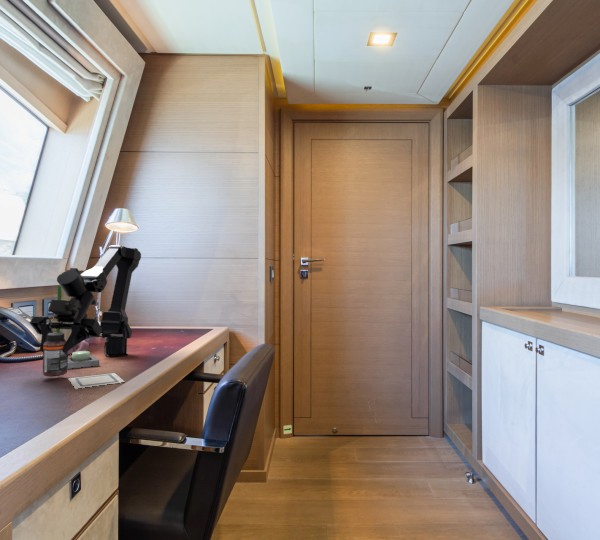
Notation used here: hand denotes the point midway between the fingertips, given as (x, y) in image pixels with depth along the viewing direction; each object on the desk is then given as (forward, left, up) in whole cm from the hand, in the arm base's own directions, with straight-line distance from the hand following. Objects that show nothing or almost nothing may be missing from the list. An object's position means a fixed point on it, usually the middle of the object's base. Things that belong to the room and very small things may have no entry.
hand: (52, 351), depth 114 cm
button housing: (-10, -16, -8) cm, 20 cm away
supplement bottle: (-1, -1, -7) cm, 7 cm away
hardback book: (-12, -49, -8) cm, 51 cm away
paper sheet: (-10, +7, -8) cm, 14 cm away
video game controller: (-10, -32, -8) cm, 35 cm away
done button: (-10, -16, -6) cm, 20 cm away
